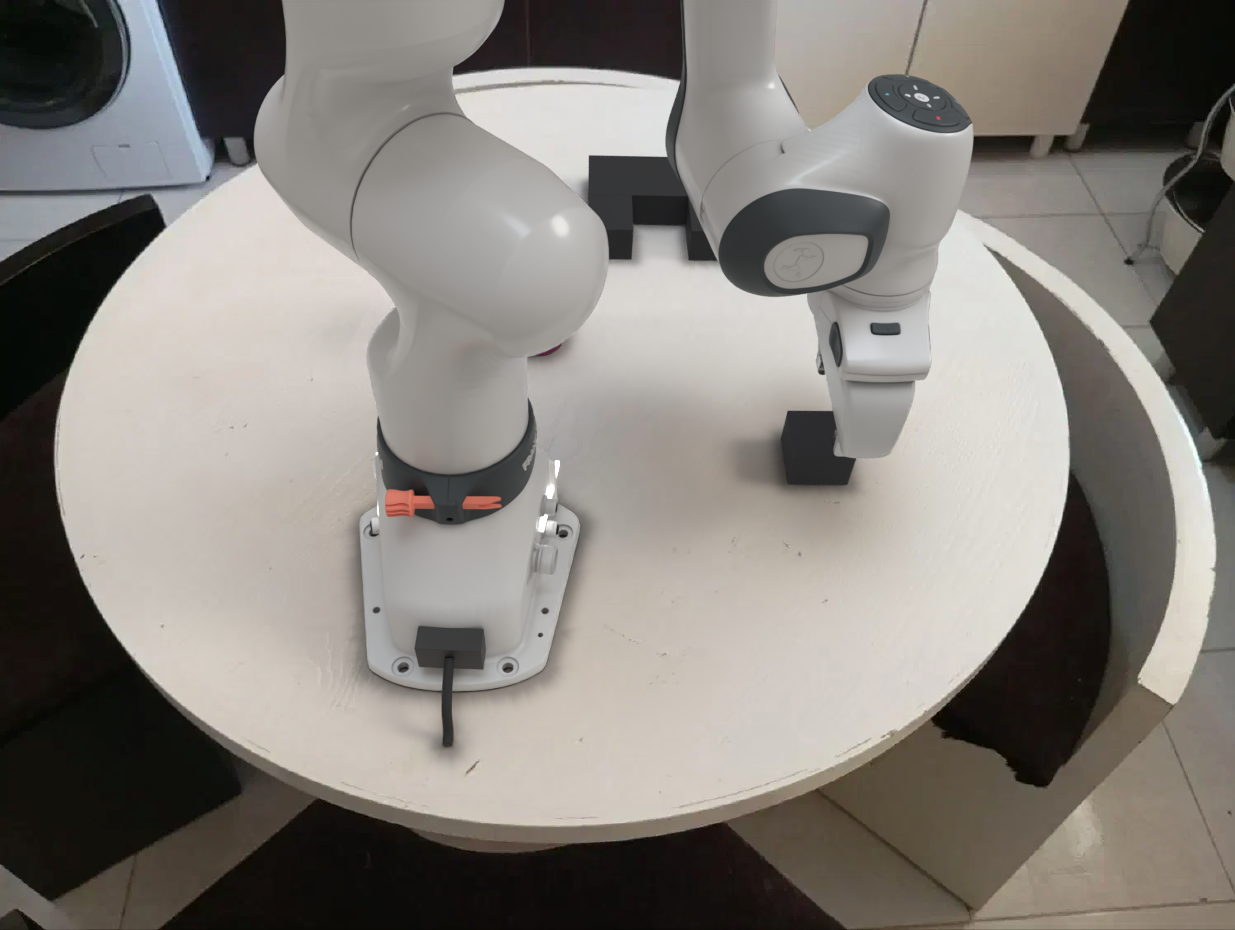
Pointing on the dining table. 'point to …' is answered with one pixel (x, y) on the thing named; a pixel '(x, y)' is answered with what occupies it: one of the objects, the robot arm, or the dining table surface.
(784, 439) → the small cube
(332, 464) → the dining table surface
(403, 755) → the dining table surface
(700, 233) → the big black u-shaped block
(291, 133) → the robot arm
